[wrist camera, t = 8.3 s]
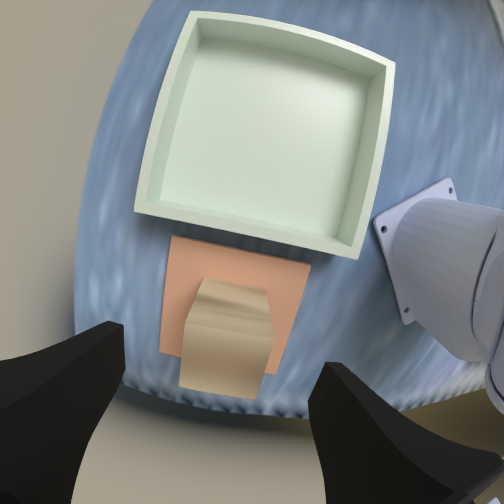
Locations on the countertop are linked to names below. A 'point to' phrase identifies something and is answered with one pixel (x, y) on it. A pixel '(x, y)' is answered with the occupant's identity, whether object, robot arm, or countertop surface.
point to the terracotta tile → (236, 271)
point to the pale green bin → (268, 133)
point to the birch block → (226, 340)
